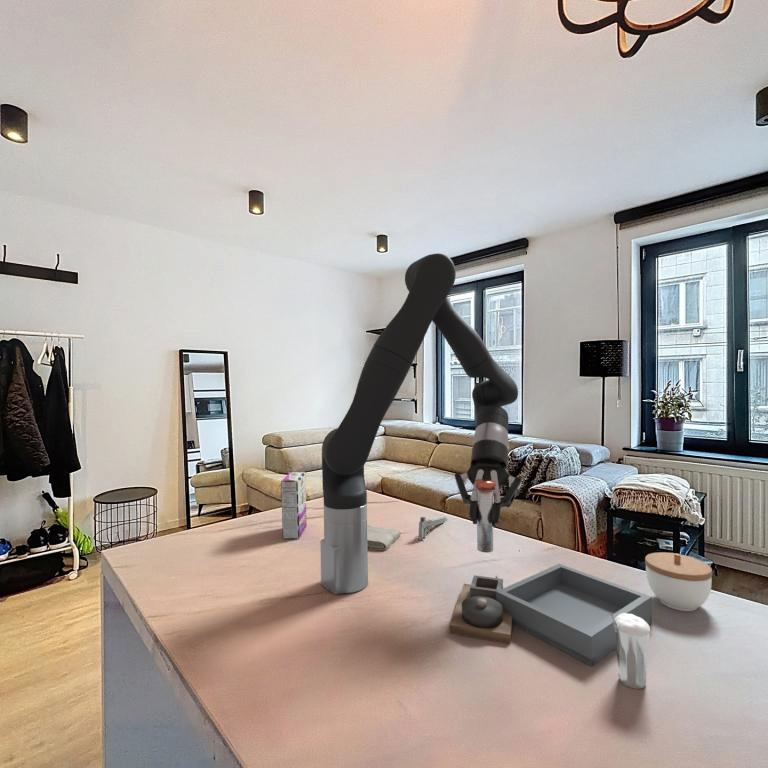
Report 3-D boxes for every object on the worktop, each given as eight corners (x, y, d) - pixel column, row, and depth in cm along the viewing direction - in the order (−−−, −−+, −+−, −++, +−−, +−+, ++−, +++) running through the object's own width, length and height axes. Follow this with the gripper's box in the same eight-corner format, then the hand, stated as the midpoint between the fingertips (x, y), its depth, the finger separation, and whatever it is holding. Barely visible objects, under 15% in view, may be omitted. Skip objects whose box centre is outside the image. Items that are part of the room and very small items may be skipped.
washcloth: (345, 530, 131) (345, 519, 131) (402, 537, 124) (402, 526, 124) (324, 544, 120) (324, 532, 120) (386, 553, 113) (386, 541, 113)
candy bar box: (290, 526, 133) (289, 471, 133) (307, 526, 133) (306, 471, 133) (281, 539, 122) (280, 480, 122) (299, 539, 122) (298, 480, 122)
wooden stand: (510, 643, 72) (510, 616, 72) (449, 633, 76) (449, 607, 76) (514, 597, 88) (514, 575, 88) (464, 590, 91) (463, 569, 91)
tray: (591, 666, 67) (591, 636, 66) (496, 616, 81) (496, 591, 81) (651, 622, 78) (651, 596, 78) (559, 585, 93) (559, 563, 93)
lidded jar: (701, 594, 88) (700, 547, 88) (722, 622, 78) (721, 569, 78) (640, 586, 92) (639, 541, 92) (652, 612, 81) (652, 561, 81)
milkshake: (602, 672, 65) (601, 604, 65) (636, 670, 66) (636, 602, 65) (621, 694, 61) (620, 621, 61) (658, 691, 61) (657, 619, 61)
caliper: (422, 542, 119) (422, 519, 119) (418, 541, 120) (418, 518, 120) (447, 520, 137) (447, 500, 137) (444, 520, 138) (444, 499, 138)
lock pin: (486, 554, 83) (486, 484, 83) (471, 548, 86) (470, 480, 86) (499, 550, 85) (499, 481, 85) (484, 544, 88) (484, 478, 88)
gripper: (455, 436, 95) (444, 509, 83) (524, 439, 90) (522, 516, 79) (459, 457, 100) (449, 529, 88) (524, 460, 95) (523, 536, 84)
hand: (484, 522), depth 83 cm, fingers closed on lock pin, 3 cm apart
